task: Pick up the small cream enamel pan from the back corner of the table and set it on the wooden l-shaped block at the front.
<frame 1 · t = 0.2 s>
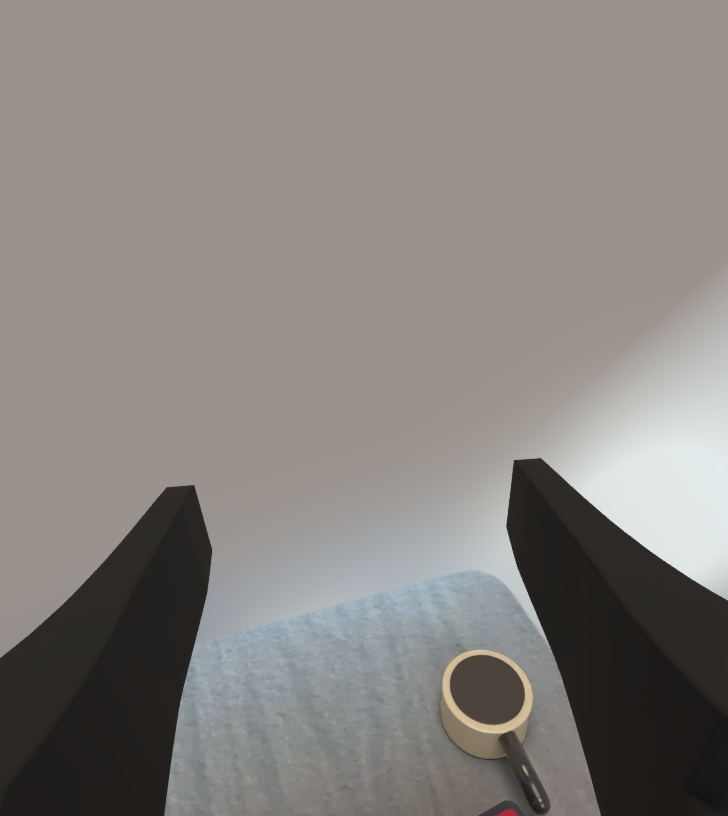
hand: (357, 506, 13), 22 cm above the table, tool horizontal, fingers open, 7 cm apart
pan: (483, 714, 31), on the table
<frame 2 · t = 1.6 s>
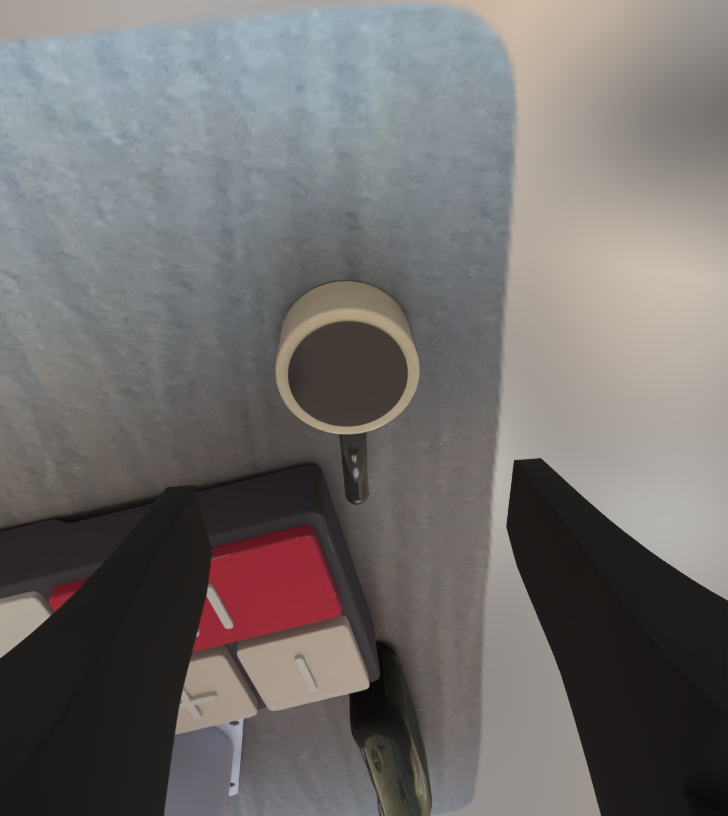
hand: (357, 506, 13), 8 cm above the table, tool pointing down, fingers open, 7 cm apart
mobile phone: (391, 713, 33), on the table
calculator: (193, 581, 26), on the table
pan: (345, 342, 20), on the table
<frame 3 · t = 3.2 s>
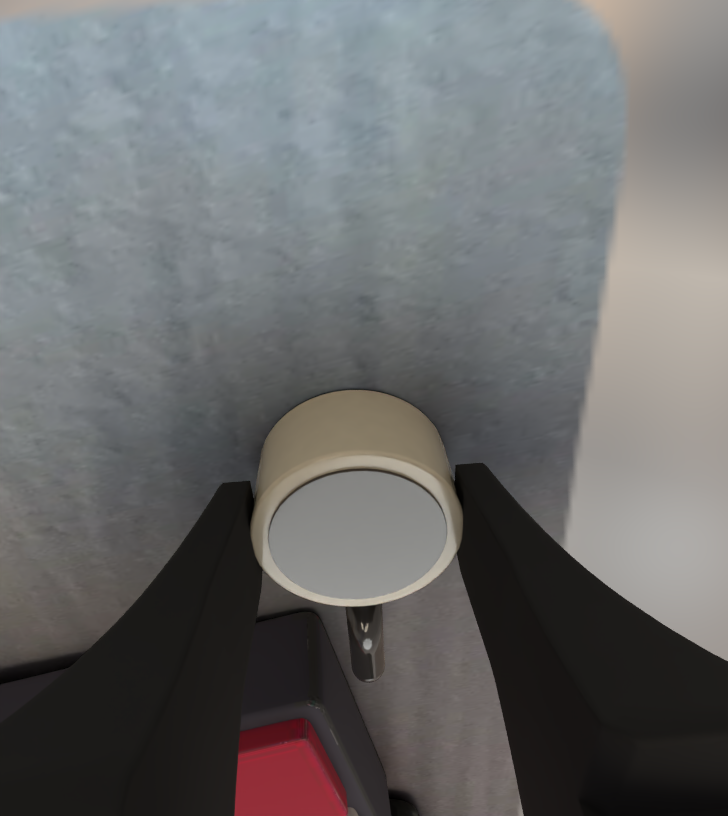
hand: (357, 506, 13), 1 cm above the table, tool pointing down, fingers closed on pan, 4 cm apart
calculator: (156, 735, 20), on the table
pan: (353, 467, 14), on the table, touching gripper
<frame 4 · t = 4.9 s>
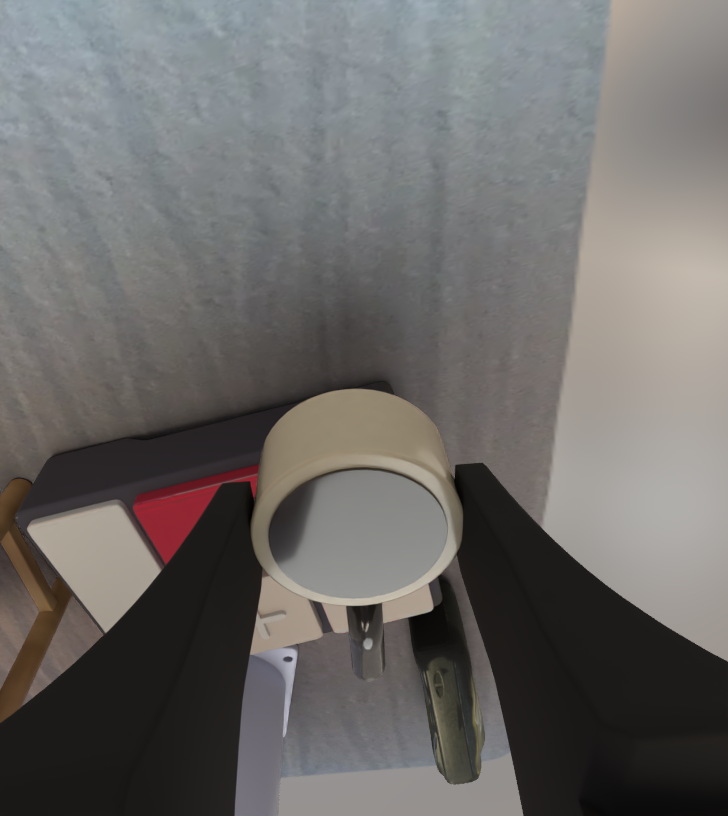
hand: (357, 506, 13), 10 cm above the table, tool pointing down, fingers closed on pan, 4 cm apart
mobile phone: (441, 652, 34), on the table
calculator: (257, 508, 27), on the table
pan: (353, 466, 14), point 9 cm above the table, touching gripper
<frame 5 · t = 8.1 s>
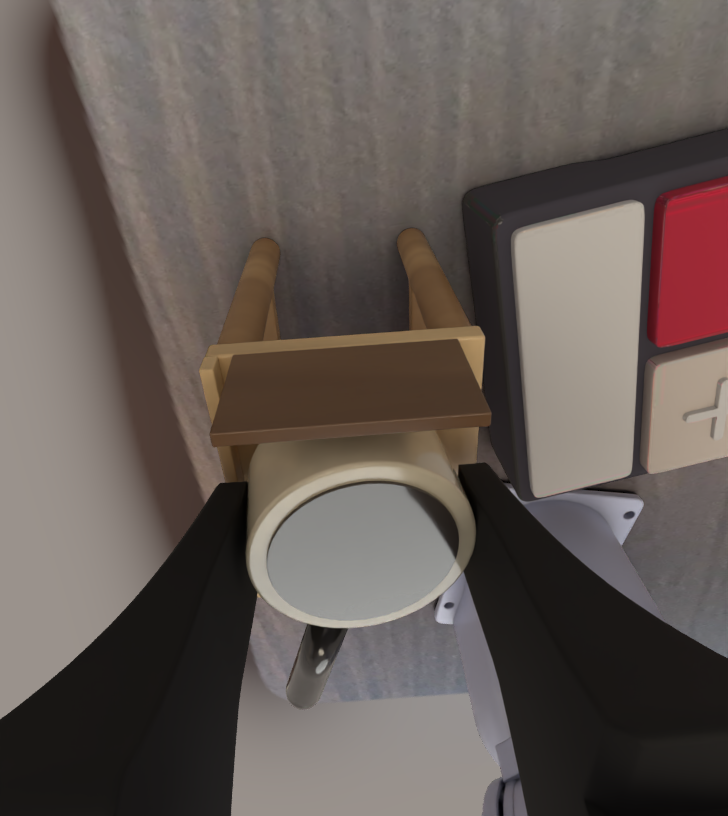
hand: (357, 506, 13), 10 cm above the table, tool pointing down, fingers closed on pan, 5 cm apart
stand: (344, 327, 21), on the table
calculator: (674, 289, 21), on the table
pan: (348, 477, 13), point 9 cm above the table, tilted 5°, touching gripper
wooden l-shaped block: (354, 459, 14), resting on stand
when the fingers open (9 cm above the table, at t = 8.7 s): pan stays where it is, resting on wooden l-shaped block.
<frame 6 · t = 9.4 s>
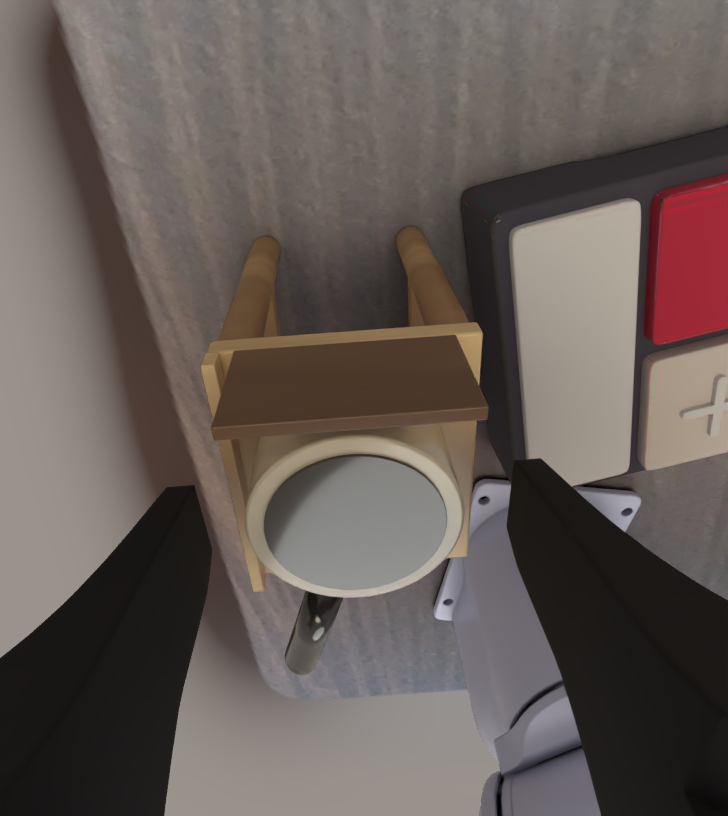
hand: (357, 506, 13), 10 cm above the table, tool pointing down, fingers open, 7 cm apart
stand: (344, 324, 21), on the table
calculator: (671, 287, 22), on the table
pan: (351, 456, 14), point 9 cm above the table, touching wooden l-shaped block
wooden l-shaped block: (353, 454, 15), resting on stand
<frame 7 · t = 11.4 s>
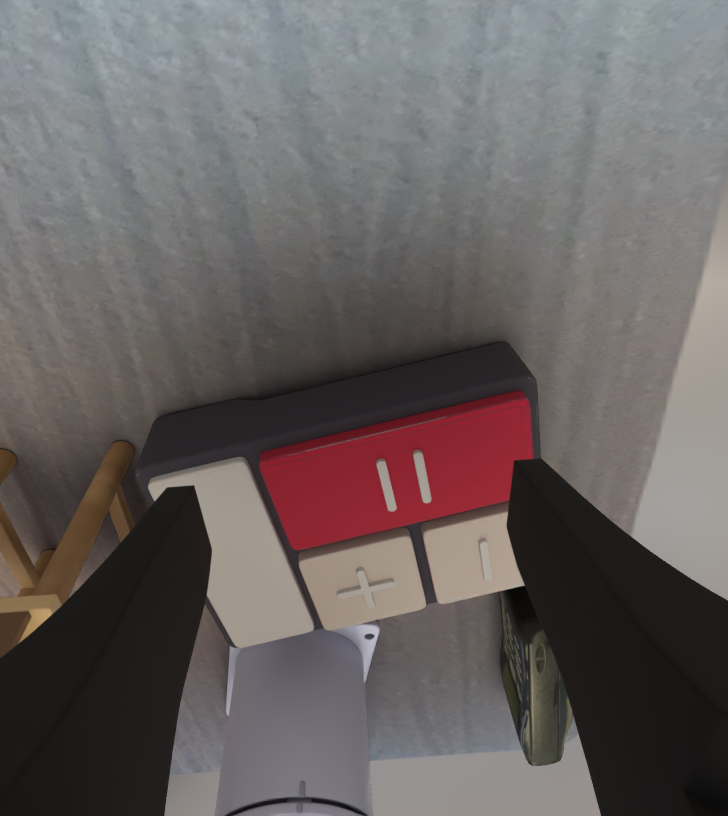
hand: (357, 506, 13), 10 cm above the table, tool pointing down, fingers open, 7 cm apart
stand: (85, 506, 26), on the table
mobile phone: (520, 632, 33), on the table
calculator: (357, 476, 26), on the table
wooden l-shaped block: (1, 668, 19), resting on stand
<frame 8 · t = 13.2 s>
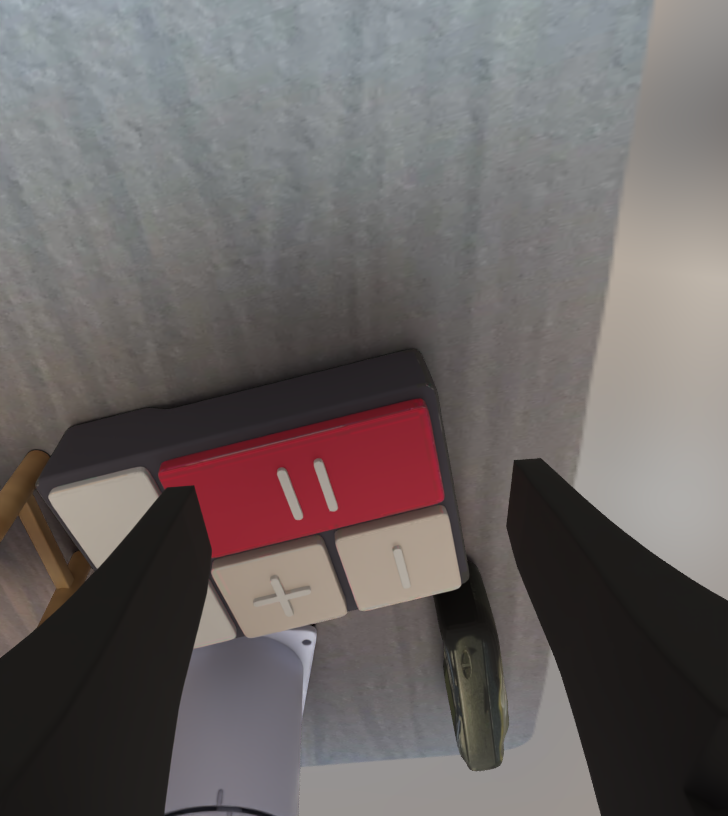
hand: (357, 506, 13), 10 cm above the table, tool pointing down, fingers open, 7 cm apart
stand: (7, 515, 26), on the table
mobile phone: (462, 637, 33), on the table
calculator: (280, 483, 26), on the table
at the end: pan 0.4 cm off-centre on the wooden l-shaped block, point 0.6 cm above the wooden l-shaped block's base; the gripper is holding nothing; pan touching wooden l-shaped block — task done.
